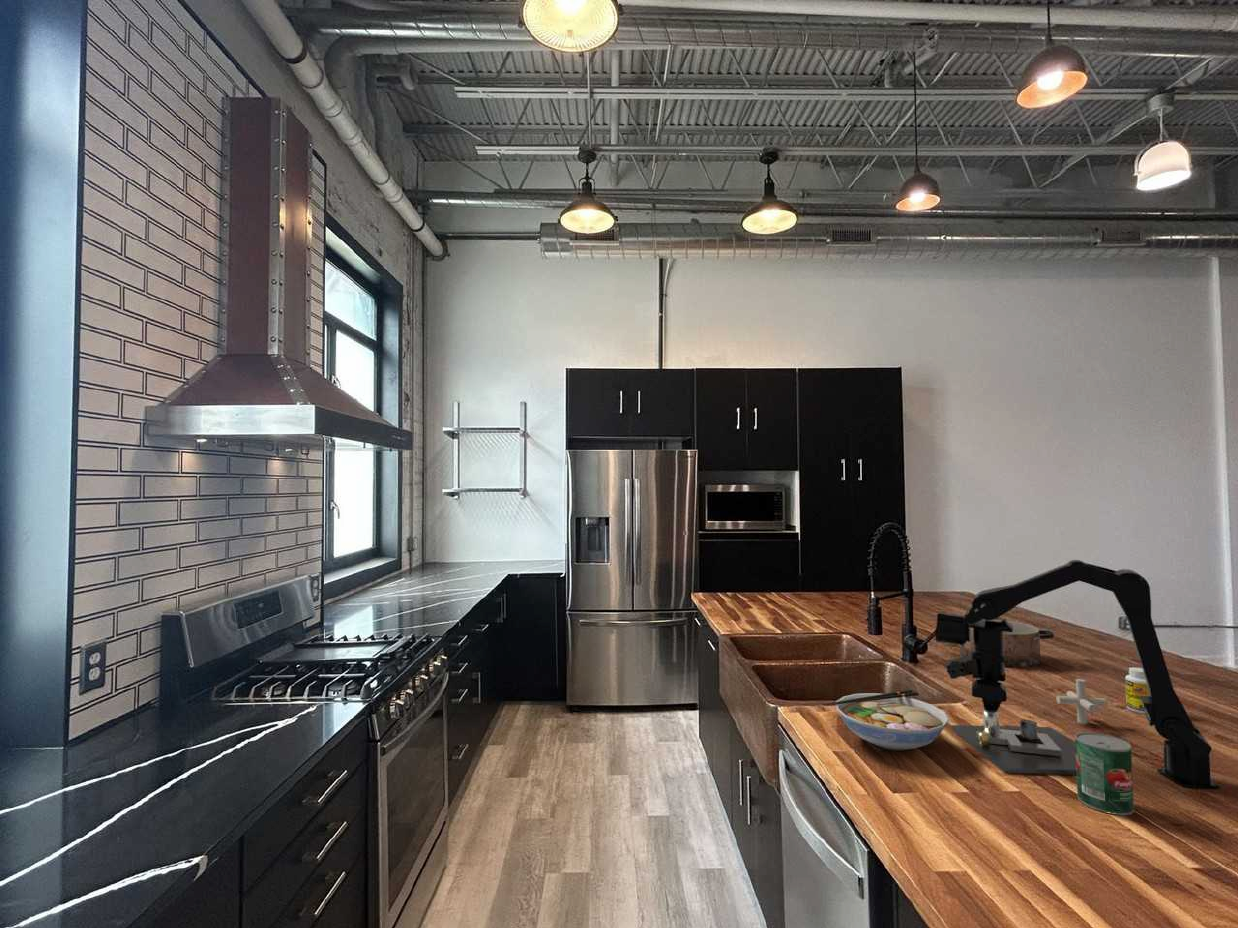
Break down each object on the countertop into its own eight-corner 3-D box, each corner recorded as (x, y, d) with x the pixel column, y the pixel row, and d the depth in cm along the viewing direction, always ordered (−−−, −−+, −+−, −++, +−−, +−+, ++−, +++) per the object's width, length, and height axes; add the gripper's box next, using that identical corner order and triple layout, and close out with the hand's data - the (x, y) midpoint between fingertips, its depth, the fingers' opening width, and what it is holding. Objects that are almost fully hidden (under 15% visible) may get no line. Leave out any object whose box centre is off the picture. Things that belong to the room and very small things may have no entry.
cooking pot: (944, 660, 199) (943, 627, 200) (950, 645, 218) (950, 615, 218) (1056, 675, 183) (1055, 638, 183) (1053, 657, 201) (1052, 625, 202)
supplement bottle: (1120, 708, 154) (1119, 667, 155) (1136, 705, 156) (1134, 665, 156) (1145, 716, 149) (1143, 673, 149) (1161, 713, 151) (1159, 671, 151)
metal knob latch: (1046, 739, 132) (1045, 710, 132) (1062, 756, 124) (1060, 725, 124) (973, 731, 137) (972, 703, 137) (983, 747, 128) (982, 717, 129)
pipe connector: (1118, 732, 139) (1117, 688, 139) (1069, 729, 141) (1068, 685, 141) (1094, 716, 149) (1092, 675, 149) (1048, 713, 151) (1047, 672, 151)
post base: (1123, 776, 118) (1121, 744, 118) (1005, 773, 119) (1004, 742, 119) (1050, 731, 140) (1049, 705, 140) (951, 729, 141) (950, 703, 141)
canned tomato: (1078, 788, 113) (1076, 728, 113) (1133, 802, 108) (1131, 739, 108) (1076, 805, 107) (1073, 742, 107) (1134, 821, 102) (1131, 754, 102)
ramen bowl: (877, 774, 119) (876, 732, 119) (811, 730, 141) (810, 695, 141) (980, 759, 126) (979, 719, 126) (901, 719, 148) (900, 685, 148)
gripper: (949, 634, 147) (951, 699, 147) (944, 654, 131) (945, 727, 131) (1004, 640, 141) (1005, 708, 141) (1005, 662, 125) (1007, 738, 125)
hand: (989, 719), depth 135 cm, fingers closed
